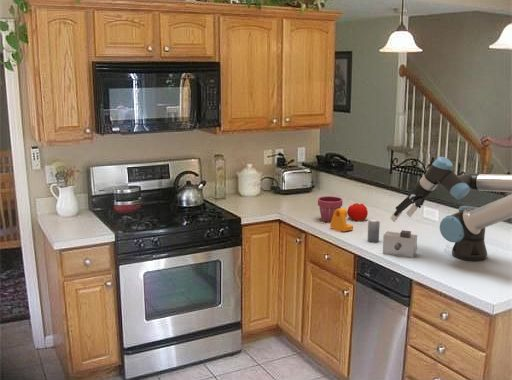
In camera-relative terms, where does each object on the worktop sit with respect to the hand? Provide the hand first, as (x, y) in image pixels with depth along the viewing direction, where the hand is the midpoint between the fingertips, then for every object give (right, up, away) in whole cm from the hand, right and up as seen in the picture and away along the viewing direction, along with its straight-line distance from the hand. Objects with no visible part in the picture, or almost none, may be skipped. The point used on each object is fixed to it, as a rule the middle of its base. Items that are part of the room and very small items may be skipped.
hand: (400, 217), depth 254 cm
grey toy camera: (0, -16, -1) cm, 16 cm away
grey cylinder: (-10, -13, +14) cm, 21 cm away
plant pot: (-26, -5, +54) cm, 60 cm away
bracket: (-22, -9, +35) cm, 43 cm away
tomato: (-10, -4, +55) cm, 56 cm away
